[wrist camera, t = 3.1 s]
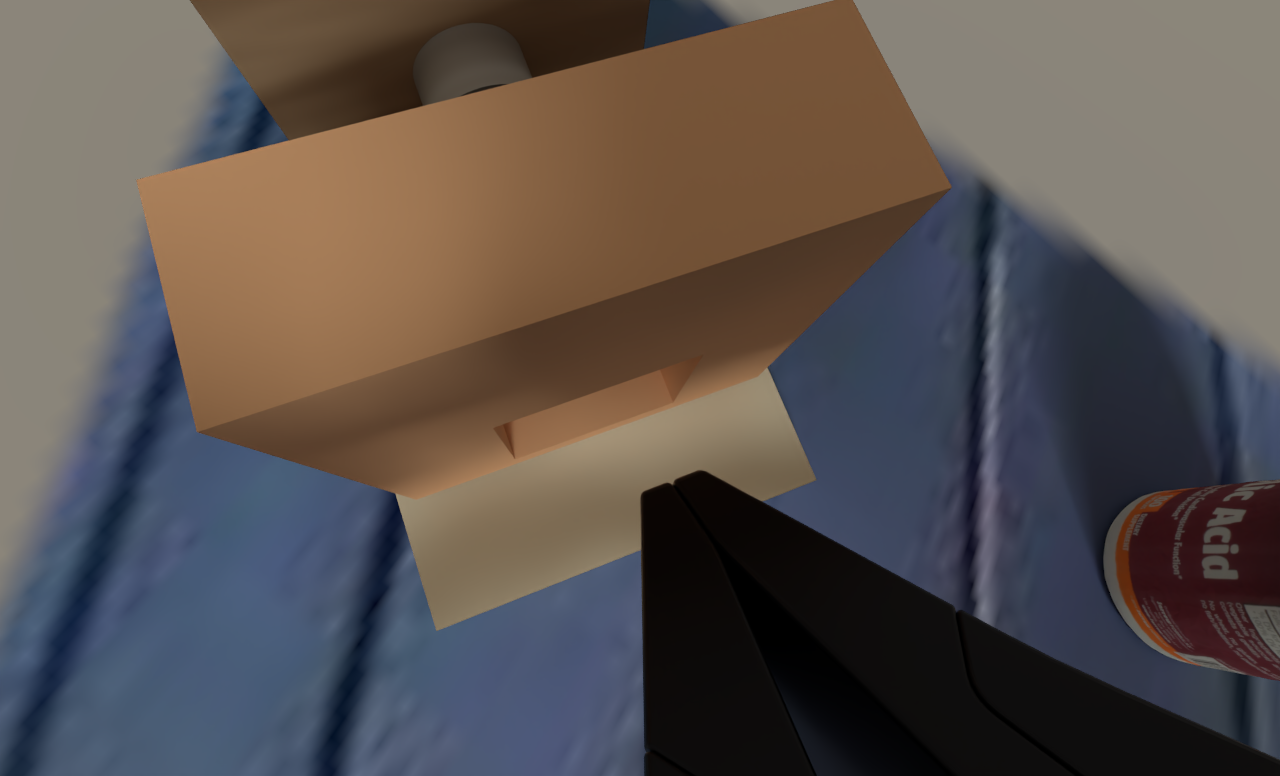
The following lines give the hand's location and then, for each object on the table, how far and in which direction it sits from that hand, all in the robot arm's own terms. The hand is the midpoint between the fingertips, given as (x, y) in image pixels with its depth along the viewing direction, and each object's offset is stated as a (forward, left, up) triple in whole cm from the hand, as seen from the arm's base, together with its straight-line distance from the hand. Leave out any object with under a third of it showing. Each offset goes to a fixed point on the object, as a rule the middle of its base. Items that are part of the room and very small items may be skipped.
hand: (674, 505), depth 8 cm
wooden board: (+3, -2, -8) cm, 9 cm away
